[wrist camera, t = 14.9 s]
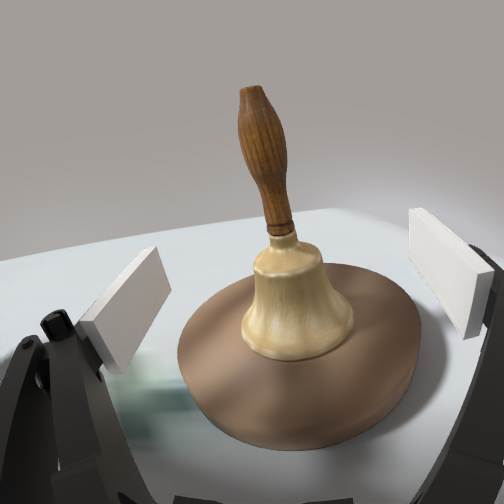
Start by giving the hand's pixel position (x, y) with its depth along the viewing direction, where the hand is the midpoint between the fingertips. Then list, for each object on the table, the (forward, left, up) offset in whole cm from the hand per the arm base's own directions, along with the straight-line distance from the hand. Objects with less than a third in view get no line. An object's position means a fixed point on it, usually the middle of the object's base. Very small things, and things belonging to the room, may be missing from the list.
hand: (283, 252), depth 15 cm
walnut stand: (-2, +3, -11) cm, 11 cm away
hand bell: (-2, +3, -8) cm, 9 cm away
